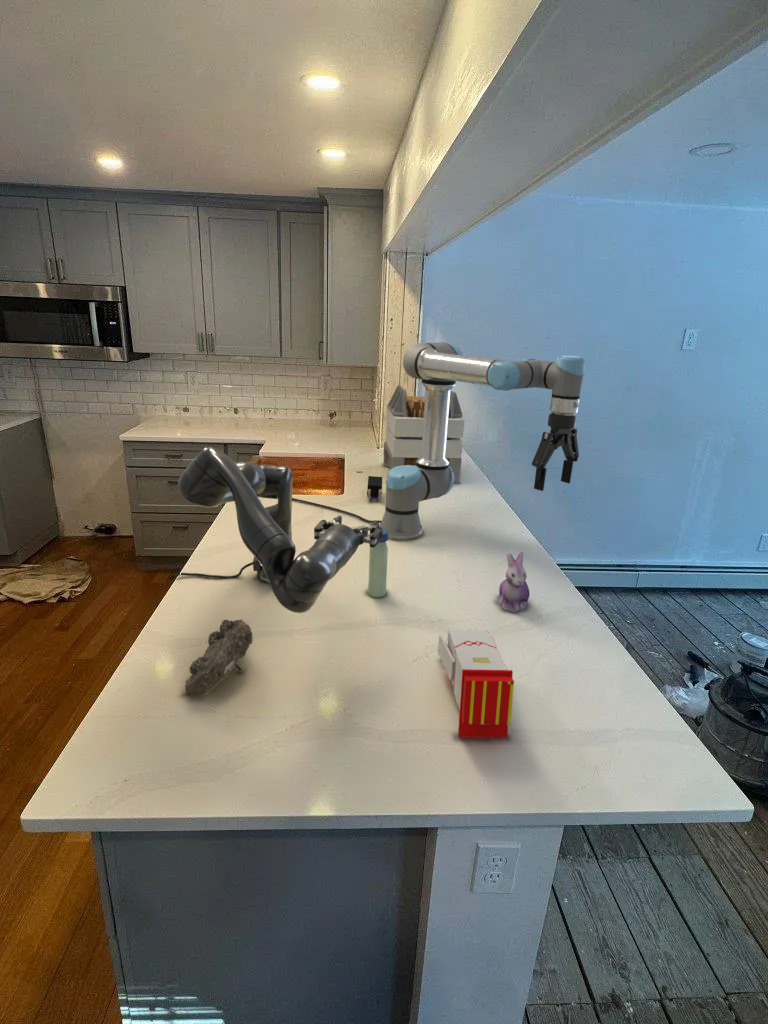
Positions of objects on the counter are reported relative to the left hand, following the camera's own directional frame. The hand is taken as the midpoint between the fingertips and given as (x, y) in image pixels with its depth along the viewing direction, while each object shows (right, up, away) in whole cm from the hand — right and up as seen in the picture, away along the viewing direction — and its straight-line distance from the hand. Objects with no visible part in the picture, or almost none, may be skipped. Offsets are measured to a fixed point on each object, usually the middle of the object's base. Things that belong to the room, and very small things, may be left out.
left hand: (358, 522), depth 130 cm
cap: (+5, -3, +22) cm, 23 cm away
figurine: (+41, -23, +25) cm, 54 cm away
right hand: (+55, +10, +36) cm, 66 cm away
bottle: (+4, -20, +28) cm, 35 cm away
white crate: (+23, +21, +145) cm, 149 cm away
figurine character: (+2, +8, +107) cm, 107 cm away
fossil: (-29, -32, -7) cm, 43 cm away
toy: (+24, -35, -11) cm, 44 cm away
